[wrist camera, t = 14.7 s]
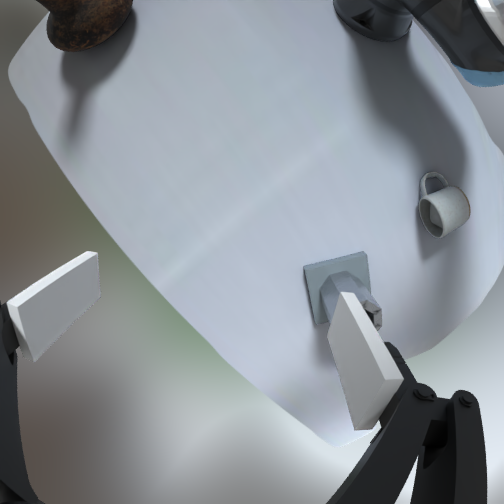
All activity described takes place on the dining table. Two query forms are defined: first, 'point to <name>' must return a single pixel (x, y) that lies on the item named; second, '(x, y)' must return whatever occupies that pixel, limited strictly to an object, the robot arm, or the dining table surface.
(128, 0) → the dark brown rounded piece
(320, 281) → the peg block
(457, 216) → the ceramic mug
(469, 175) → the dining table surface
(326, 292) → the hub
